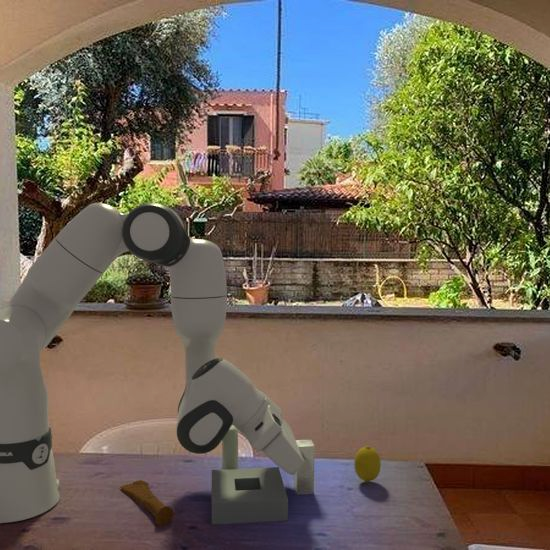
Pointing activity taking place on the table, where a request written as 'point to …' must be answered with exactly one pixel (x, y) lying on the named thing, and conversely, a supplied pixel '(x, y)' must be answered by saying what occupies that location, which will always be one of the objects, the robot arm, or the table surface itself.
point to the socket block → (248, 496)
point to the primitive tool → (149, 501)
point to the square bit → (302, 479)
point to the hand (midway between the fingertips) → (307, 464)
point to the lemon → (367, 464)
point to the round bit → (230, 449)
